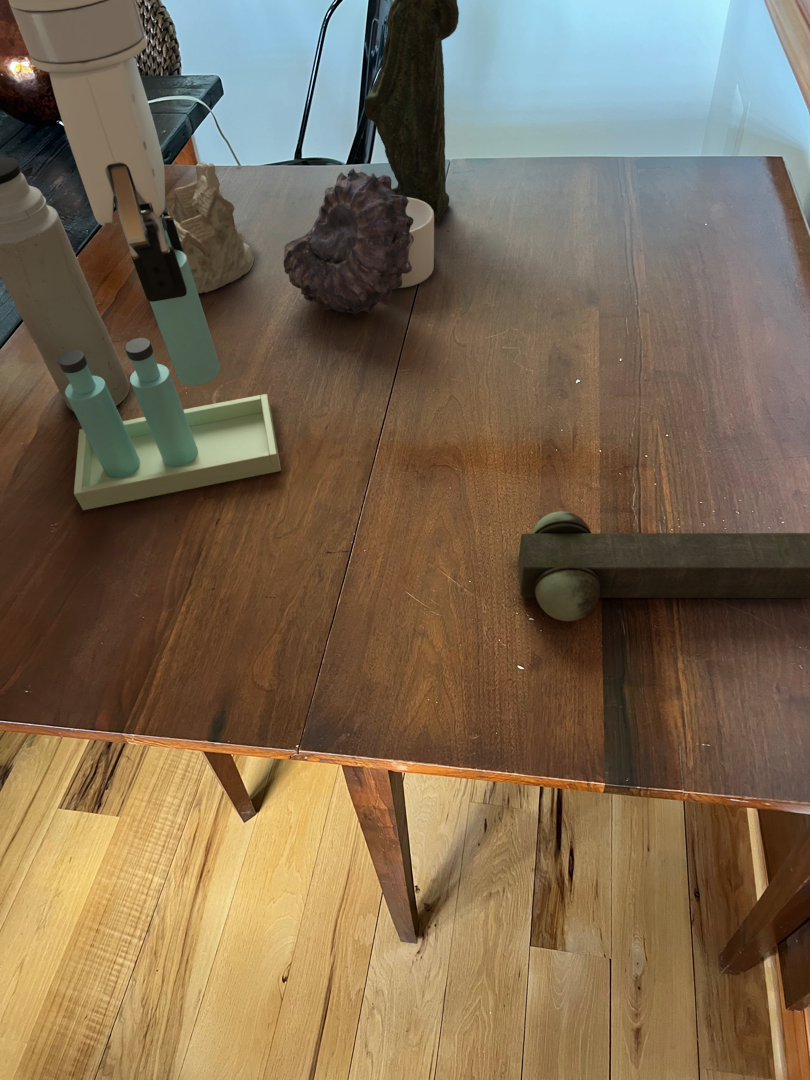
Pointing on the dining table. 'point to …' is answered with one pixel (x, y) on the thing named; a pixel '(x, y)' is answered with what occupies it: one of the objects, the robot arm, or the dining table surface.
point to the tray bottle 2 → (160, 405)
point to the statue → (414, 98)
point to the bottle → (186, 328)
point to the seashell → (353, 246)
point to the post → (655, 565)
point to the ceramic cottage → (209, 232)
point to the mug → (420, 242)
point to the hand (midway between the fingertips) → (167, 279)
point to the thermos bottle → (51, 285)
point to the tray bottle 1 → (98, 416)
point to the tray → (223, 455)
